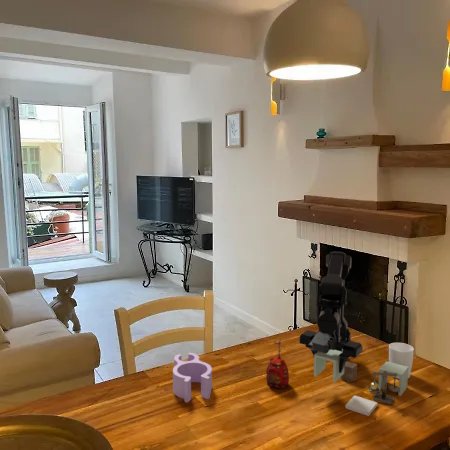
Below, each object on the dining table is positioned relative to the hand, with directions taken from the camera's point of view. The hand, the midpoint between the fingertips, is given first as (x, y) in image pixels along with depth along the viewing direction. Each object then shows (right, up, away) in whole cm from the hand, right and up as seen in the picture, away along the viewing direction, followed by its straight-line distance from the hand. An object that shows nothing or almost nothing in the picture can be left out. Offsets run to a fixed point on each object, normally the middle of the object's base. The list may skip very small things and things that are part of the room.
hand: (329, 369), depth 141 cm
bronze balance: (+16, -9, -2) cm, 18 cm away
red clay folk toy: (-15, -8, +8) cm, 19 cm away
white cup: (+27, -7, +14) cm, 32 cm away
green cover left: (0, -2, 0) cm, 2 cm away
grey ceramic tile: (+8, -9, -6) cm, 14 cm away
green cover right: (+22, -8, +5) cm, 23 cm away
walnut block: (+9, -7, +12) cm, 16 cm away
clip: (-44, -8, +7) cm, 45 cm away
